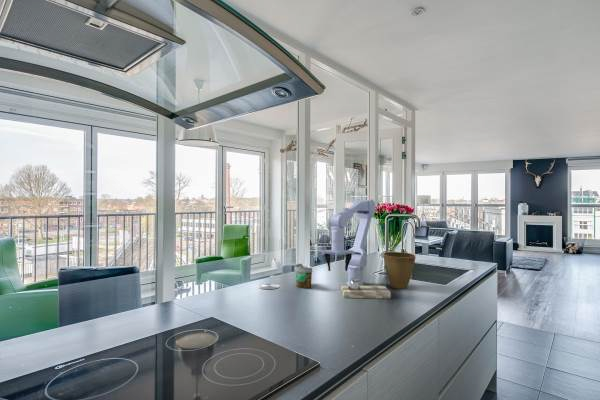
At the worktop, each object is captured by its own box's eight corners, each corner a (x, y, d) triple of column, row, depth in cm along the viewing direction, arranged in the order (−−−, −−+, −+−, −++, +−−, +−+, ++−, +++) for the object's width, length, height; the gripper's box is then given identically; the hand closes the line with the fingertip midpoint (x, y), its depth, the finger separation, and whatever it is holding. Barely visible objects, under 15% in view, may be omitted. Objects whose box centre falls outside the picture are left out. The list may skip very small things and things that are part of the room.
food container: (290, 284, 159) (290, 264, 159) (301, 283, 161) (301, 263, 161) (300, 290, 148) (300, 269, 148) (312, 289, 150) (312, 268, 150)
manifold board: (341, 290, 148) (341, 285, 148) (384, 291, 147) (384, 285, 147) (344, 297, 137) (344, 292, 137) (390, 298, 136) (390, 292, 136)
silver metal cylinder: (349, 293, 144) (349, 277, 144) (358, 293, 144) (358, 277, 144) (351, 295, 140) (351, 279, 140) (360, 295, 140) (360, 279, 140)
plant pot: (379, 288, 152) (380, 255, 152) (387, 281, 165) (387, 251, 165) (412, 293, 144) (412, 258, 144) (417, 285, 157) (417, 253, 157)
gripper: (322, 241, 141) (322, 272, 141) (355, 242, 141) (354, 272, 141) (321, 240, 148) (321, 269, 148) (352, 240, 148) (352, 269, 148)
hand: (337, 270), depth 145 cm, fingers open, 7 cm apart
